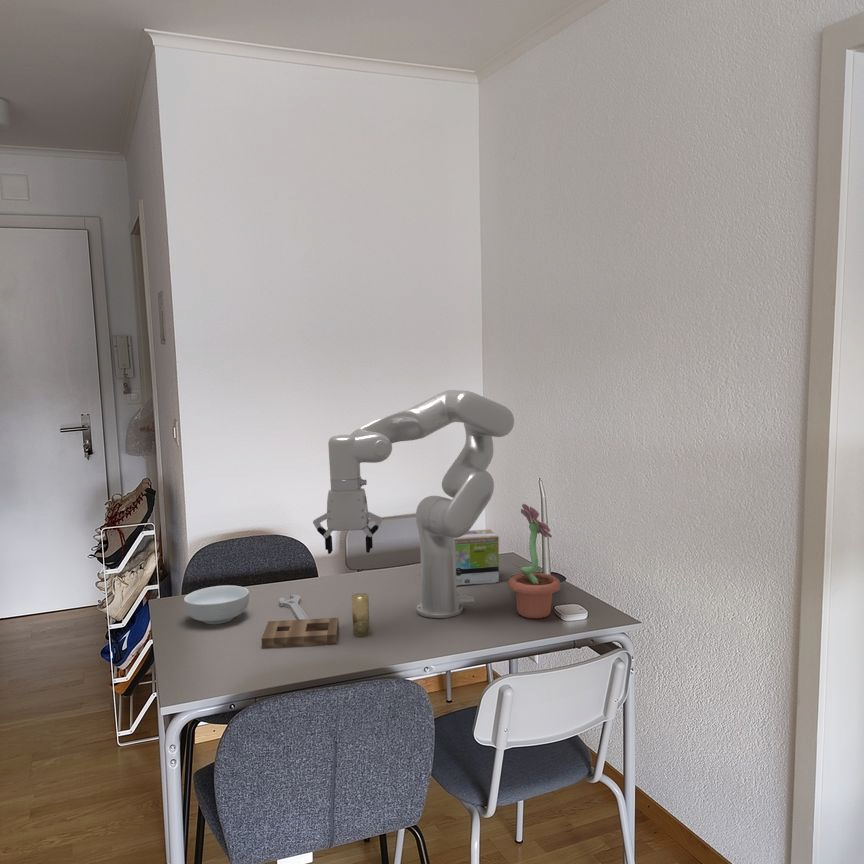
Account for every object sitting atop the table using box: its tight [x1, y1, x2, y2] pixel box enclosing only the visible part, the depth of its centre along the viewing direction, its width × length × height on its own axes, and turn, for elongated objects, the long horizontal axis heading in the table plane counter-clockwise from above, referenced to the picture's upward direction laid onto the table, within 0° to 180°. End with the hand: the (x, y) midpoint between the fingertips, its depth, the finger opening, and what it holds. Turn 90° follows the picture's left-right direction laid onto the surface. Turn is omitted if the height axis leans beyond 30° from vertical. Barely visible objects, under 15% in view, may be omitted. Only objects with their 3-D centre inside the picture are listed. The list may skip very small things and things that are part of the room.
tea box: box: [454, 529, 500, 586], centre depth 237 cm, size 15×10×15 cm
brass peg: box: [351, 592, 371, 638], centre depth 196 cm, size 4×4×10 cm
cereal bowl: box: [183, 584, 250, 625], centre depth 210 cm, size 17×17×7 cm
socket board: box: [261, 617, 340, 649], centre depth 195 cm, size 18×12×2 cm, turn 94°
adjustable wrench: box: [278, 594, 310, 620], centre depth 213 cm, size 25×6×2 cm, turn 18°
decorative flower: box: [507, 503, 562, 619], centre depth 205 cm, size 15×14×30 cm
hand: (349, 551), depth 195 cm, fingers open, 9 cm apart
